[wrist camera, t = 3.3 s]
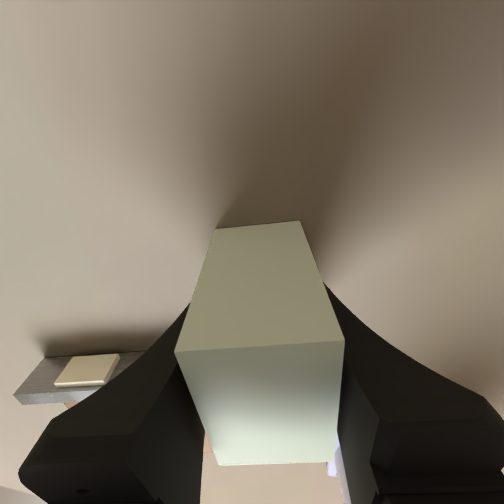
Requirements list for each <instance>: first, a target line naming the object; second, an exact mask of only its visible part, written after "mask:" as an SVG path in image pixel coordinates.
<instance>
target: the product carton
mask: <svg viewBox="0 0 504 504" xmlns="http://www.w3.org/2000/svg"><path fill="white" fill-rule="evenodd" d="M344 346H345V339H344V336H343V334H342V331H341V329H340V326H339V323H338V321H337V318H336V315H335V313H334V310H333V307H332V305H331V302H330V300H329V297H328V294H327V292H326V289H325V286H324V284H323V281H322V278H321V276H320V273H319V271H318V268H317V265H316V263H315V260H314V257H313V255H312V252H311V249H310V247H309V244H308V241H307V239H306V236H305V234H304V231H303V228H302V226H301V223H300V221H290V222H280V223H270V224H261V225H251V226H241V227H231V228H221V229H215V231H214V234H213V237H212V240H211V243H210V246H209V249H208V252H207V255H206V258H205V261H204V264H203V267H202V270H201V273H200V276H199V279H198V282H197V285H196V288H195V291H194V294H193V297H192V300H191V303H190V306H189V309H188V312H187V315H186V318H185V321H184V324H183V327H182V330H181V333H180V336H179V339H178V342H177V345H176V348H175V351H174V353H175V356H176V358H177V361H178V363H179V366H180V368H181V371H182V373H183V376H184V378H185V381H186V383H187V386H188V388H189V391H190V394H191V396H192V399H193V401H194V404H195V406H196V409H197V411H198V414H199V416H200V419H201V421H202V424H203V426H204V429H205V431H206V434H207V436H208V439H209V441H210V444H211V447H212V449H213V452H214V454H215V457H216V459H217V462H218V464H219V466H225V465H253V464H281V463H309V462H334V455H335V444H336V433H337V422H338V411H339V400H340V389H341V378H342V367H343V356H344Z"/></svg>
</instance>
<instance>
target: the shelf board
mask: <svg viewBox="0 0 504 504" xmlns="http://www.w3.org/2000/svg"><path fill="white" fill-rule="evenodd" d="M145 352H146V351H139V352H125V353H110V354H96V355H82V356H67V357H53V358H44V359H43V360H42V361H41V362H40V363H39V365H38V366H37V367H36V368H35V369H34V371H33V372H32V373H31V374H30V375H29V377H28V378H27V379H26V380H25V381H24V383H23V384H22V385H21V386H20V387H19V388H18V390H17V391H16V392H15V393H14V394H13V396H14V397H15V398H16V399H17V400H18V401H19V402H20V403H21V404H22V405H28V404H46V403H64V404H65V405H66V407H67V408H68V409H69V408H71V407H72V406H74V405H76V404H77V403H79V402H80V401H82V400H84V399H85V398H87V397H88V396H89V395H91V394H92V393H94V392H95V391H97V390H98V389H100V388H101V387H102V386H104V385H105V384H107V383H108V382H109V381H111V380H112V379H113V378H115V377H116V376H117V375H119V374H120V373H121V372H122V371H123V370H125V369H126V368H127V367H128V366H130V365H131V364H132V363H133V362H134V361H136V360H137V359H138V358H139V357H140V356H141V355H143V354H144V353H145ZM203 453H214V452H213V449H212V447H211V444H210V441H209V439H208V436H207V434H206V431H205V438H204V449H203Z"/></svg>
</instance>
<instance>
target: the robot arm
mask: <svg viewBox="0 0 504 504" xmlns="http://www.w3.org/2000/svg"><path fill="white" fill-rule="evenodd" d="M323 284H324V286H325V289H326V292H327V294H328V297H329V300H330V302H331V305H332V307H333V310H334V313H335V315H336V318H337V321H338V323H339V326H340V329H341V331H342V334H343V336H344V339H345V346H344V356H343V367H342V378H341V389H340V400H339V411H338V422H337V433H336V444H335V455H334V462H327V473H328V475H329V476H338V480H339V485H340V489H341V494H342V498H343V503H344V504H504V475H503V473H502V472H501V469H502V468H503V467H504V420H503V419H502V418H501V416H500V415H499V414H498V413H497V411H496V410H495V409H494V408H493V407H492V406H491V405H490V404H489V402H488V401H487V400H486V399H485V398H484V397H483V396H481V395H479V394H477V393H475V392H473V391H471V390H469V389H467V388H465V387H463V386H461V385H459V384H457V383H455V382H453V381H451V380H449V379H447V378H445V377H443V376H441V375H440V374H438V373H436V372H434V371H432V370H431V369H429V368H427V367H425V366H424V365H422V364H420V363H419V362H417V361H415V360H414V359H412V358H411V357H409V356H408V355H406V354H404V353H403V352H401V351H400V350H398V349H397V348H395V347H394V346H392V345H391V344H389V343H388V342H387V341H385V340H384V339H383V338H381V337H380V336H379V335H377V334H376V333H375V332H374V331H372V330H371V329H370V328H369V327H367V326H366V325H365V324H364V323H363V322H362V321H361V320H359V319H358V318H357V317H356V316H355V315H354V314H353V313H352V312H351V311H350V310H349V309H348V308H347V307H346V306H345V305H344V304H343V303H342V302H341V301H340V300H339V299H338V298H337V297H336V296H335V295H334V294H333V293H332V292H331V290H330V289H329V288H328V287H327V286H326V285H325V283H324V282H323ZM190 303H191V302H190ZM190 303H189V305H188V306H187V307H186V308H185V310H184V311H183V312H182V313H181V314H180V316H179V317H178V318H177V319H176V321H175V322H174V323H173V324H172V325H171V326H170V327H169V328H168V330H167V331H166V332H165V333H164V334H163V335H162V336H161V337H160V338H159V339H158V340H157V341H156V342H155V343H154V344H153V345H152V346H151V347H150V348H149V349H148V350H147V351H146V352H145V353H144V354H143V355H141V356H140V357H139V358H138V359H137V360H136V361H134V362H133V363H132V364H131V365H130V366H128V367H127V368H126V369H125V370H123V371H122V372H121V373H120V374H119V375H117V376H116V377H115V378H113V379H112V380H111V381H109V382H108V383H107V384H105V385H104V386H102V387H101V388H100V389H98V390H97V391H95V392H94V393H92V394H91V395H89V396H88V397H87V398H85V399H84V400H82V401H80V402H79V403H77V404H76V405H74V406H72V407H71V408H69V409H68V410H66V411H65V412H63V413H61V414H60V415H58V416H57V417H55V418H53V419H52V420H51V421H50V423H49V424H48V426H47V427H46V429H45V430H44V432H43V433H42V435H41V436H40V438H39V439H38V441H37V442H36V444H35V445H34V447H33V448H32V450H31V452H30V453H29V455H28V456H27V458H26V459H25V461H24V462H23V464H22V465H21V467H20V469H19V472H18V475H19V479H20V481H21V483H22V484H23V485H24V486H25V487H26V488H28V489H29V490H31V491H32V492H33V493H35V494H36V495H37V496H39V497H40V498H41V499H43V500H44V501H45V502H47V503H48V504H200V491H201V475H202V462H203V449H204V438H205V429H204V426H203V424H202V421H201V419H200V416H199V414H198V411H197V409H196V406H195V404H194V401H193V399H192V396H191V394H190V391H189V388H188V386H187V383H186V381H185V378H184V376H183V373H182V371H181V368H180V366H179V363H178V361H177V358H176V356H175V353H174V351H175V348H176V345H177V342H178V339H179V336H180V333H181V330H182V327H183V324H184V321H185V318H186V315H187V312H188V309H189V306H190Z"/></svg>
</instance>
